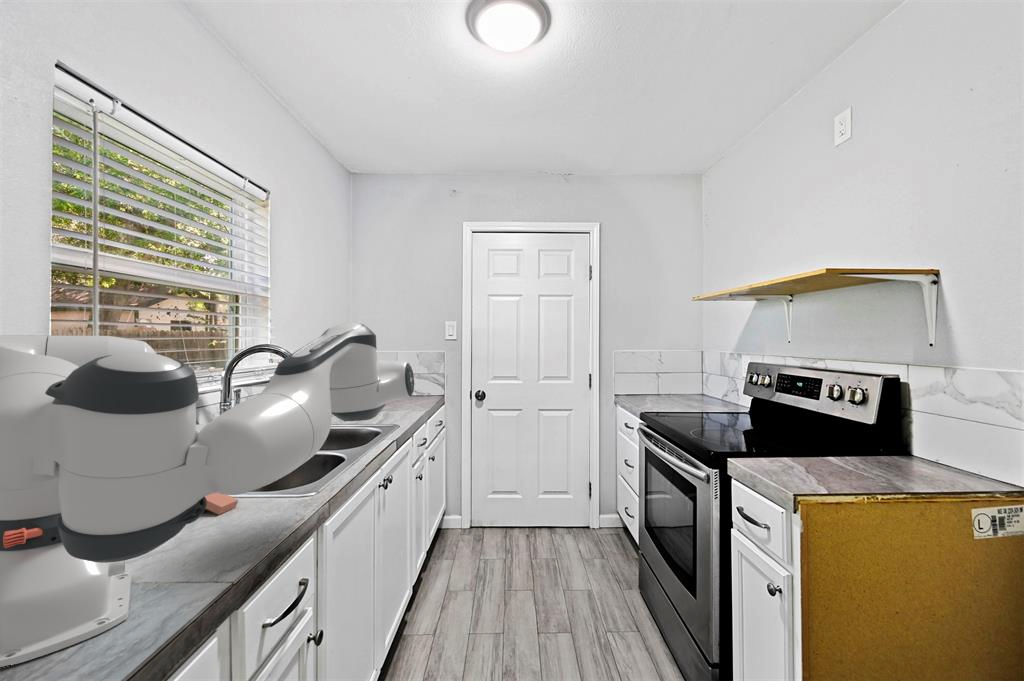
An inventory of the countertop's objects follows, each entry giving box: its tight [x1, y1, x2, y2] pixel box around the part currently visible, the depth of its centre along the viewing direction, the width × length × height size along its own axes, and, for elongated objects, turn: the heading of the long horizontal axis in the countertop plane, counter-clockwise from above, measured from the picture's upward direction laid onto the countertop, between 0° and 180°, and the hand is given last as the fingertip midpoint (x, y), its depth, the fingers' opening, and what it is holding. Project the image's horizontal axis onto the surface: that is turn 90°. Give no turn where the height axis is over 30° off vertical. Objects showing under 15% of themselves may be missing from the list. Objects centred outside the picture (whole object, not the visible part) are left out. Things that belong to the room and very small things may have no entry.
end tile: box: [205, 493, 239, 516], centre depth 102 cm, size 2×5×10 cm
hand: (284, 387), depth 99 cm, fingers closed
